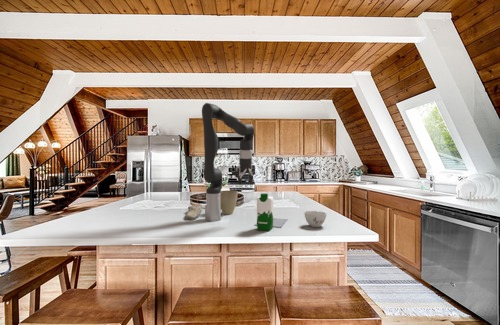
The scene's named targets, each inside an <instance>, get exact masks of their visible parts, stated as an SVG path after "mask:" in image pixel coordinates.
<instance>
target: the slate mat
mask: <svg viewBox="0 0 500 325" xmlns="http://www.w3.org/2000/svg"><path fill="white" fill-rule="evenodd" d="M286 222H288V219H287V218H275V217H273V228H276V229H277V228H278V229H279V228H280V229H281V228H282V227H283V226H284V225H285V223H286ZM254 226H255V227H257V222H256V223H255V224H254Z"/></svg>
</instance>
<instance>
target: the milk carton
mask: <svg viewBox="0 0 500 325" xmlns="http://www.w3.org/2000/svg"><path fill="white" fill-rule="evenodd" d="M273 218H274V196H269V194H268V193H260V196H257V197H256V223H257V226H256V228H257V229H256V230H257V231H265V232H270V231H271V230H272V229H274V227H273Z"/></svg>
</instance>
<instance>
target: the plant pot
mask: <svg viewBox="0 0 500 325" xmlns="http://www.w3.org/2000/svg"><path fill="white" fill-rule="evenodd" d="M238 194H239V191H237V190H221V213H222V214H223V215H232V214H234V210H235V208H236V206H237V201H238Z"/></svg>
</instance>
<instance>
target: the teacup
mask: <svg viewBox="0 0 500 325" xmlns="http://www.w3.org/2000/svg"><path fill="white" fill-rule="evenodd" d="M303 214H304V218H305V220H306V222H307V224H308V225H309V227H312V228H321V227H322V225H323V224H324V223H325V220H326V217H327V213H326V212H323V211H318V210H317V211H316V210H308V211H307V210H306V211H304V213H303Z"/></svg>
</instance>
